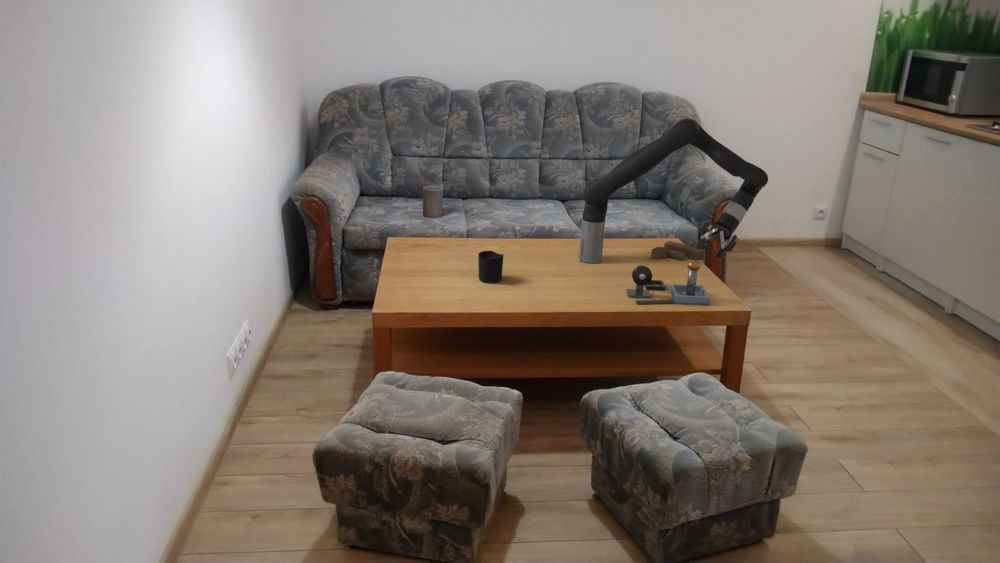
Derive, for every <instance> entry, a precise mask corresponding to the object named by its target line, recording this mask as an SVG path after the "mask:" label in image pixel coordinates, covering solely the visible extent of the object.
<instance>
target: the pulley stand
mask: <svg viewBox="0 0 1000 563" xmlns="http://www.w3.org/2000/svg"><path fill="white" fill-rule="evenodd" d="M651 270H652V269H650V267H649V266H647V265H637V266H636V267H634V269H633V270H632V272H631V279H632V280H633V282H634V284H635V289H634V288H627V290H626V293H627V297H628V298H631V299H632V298H633V299H648V300H652V295H651V292H650V290H646V289H644V288H645V285H647V284H648V283H650V281H651V280H653V273H652V271H651Z"/></svg>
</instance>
